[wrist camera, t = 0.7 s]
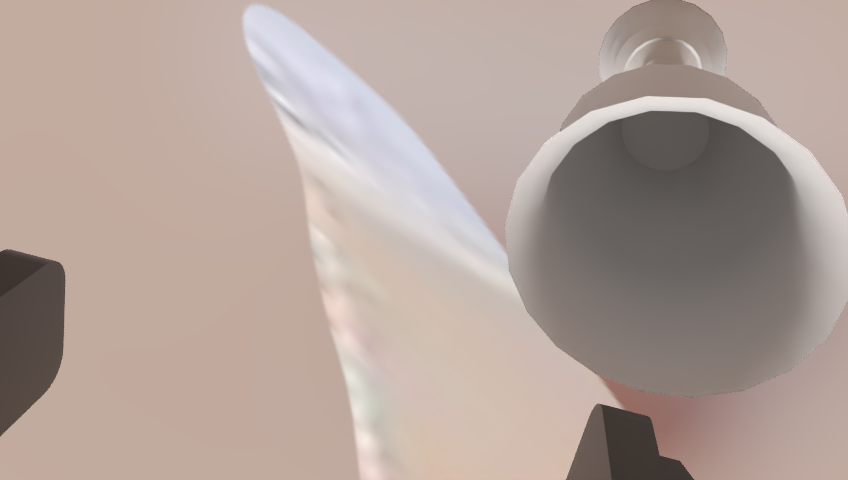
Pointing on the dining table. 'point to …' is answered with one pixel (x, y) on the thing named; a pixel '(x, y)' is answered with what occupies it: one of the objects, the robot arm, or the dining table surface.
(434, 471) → the dining table surface
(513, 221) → the chalice
